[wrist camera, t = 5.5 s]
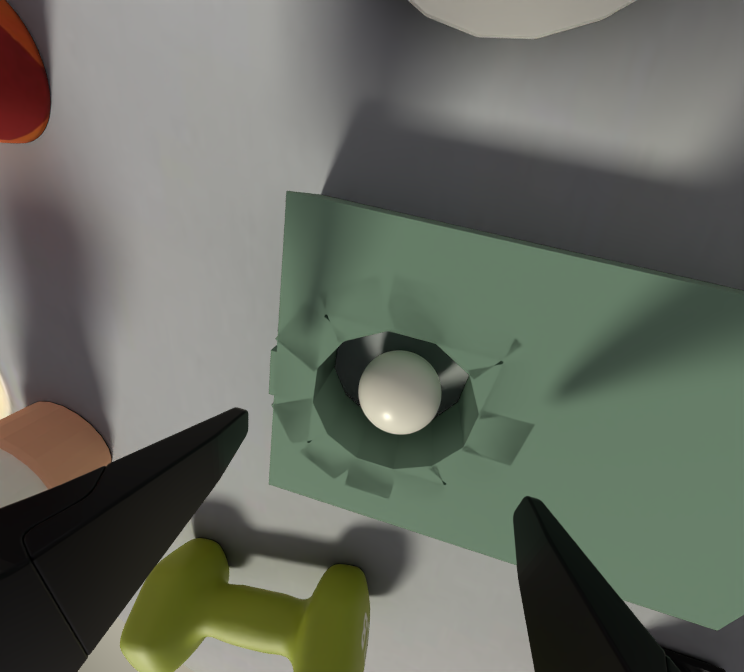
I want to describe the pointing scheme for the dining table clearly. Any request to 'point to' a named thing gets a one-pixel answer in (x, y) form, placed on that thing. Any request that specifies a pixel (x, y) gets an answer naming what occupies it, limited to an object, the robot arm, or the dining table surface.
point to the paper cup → (20, 82)
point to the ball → (400, 392)
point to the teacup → (517, 15)
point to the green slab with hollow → (522, 399)
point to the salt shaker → (46, 450)
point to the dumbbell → (245, 615)
